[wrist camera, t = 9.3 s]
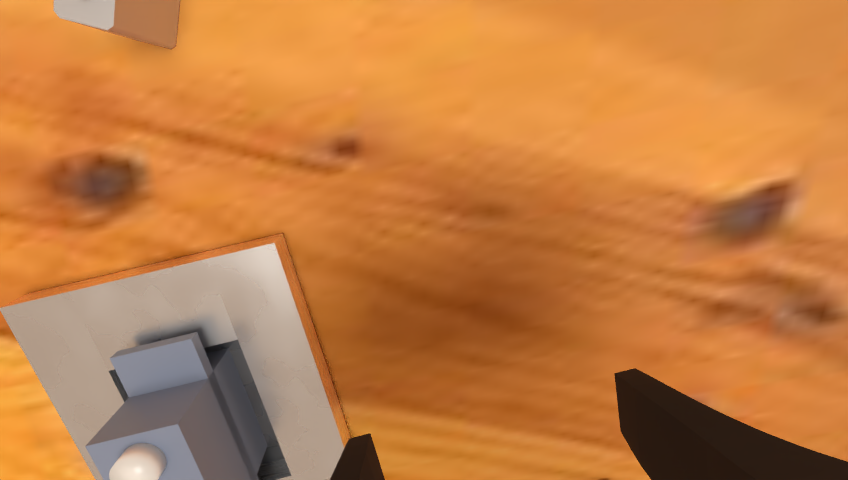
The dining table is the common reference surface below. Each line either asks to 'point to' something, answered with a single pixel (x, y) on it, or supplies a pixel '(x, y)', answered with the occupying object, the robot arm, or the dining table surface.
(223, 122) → the dining table surface
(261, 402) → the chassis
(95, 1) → the lighter
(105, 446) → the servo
